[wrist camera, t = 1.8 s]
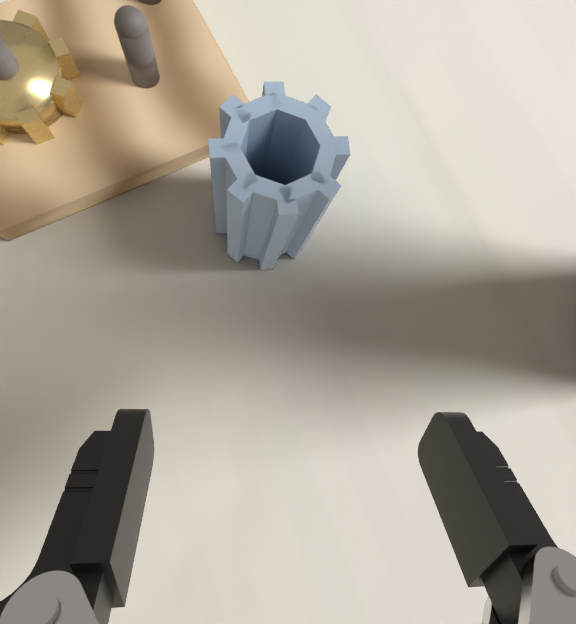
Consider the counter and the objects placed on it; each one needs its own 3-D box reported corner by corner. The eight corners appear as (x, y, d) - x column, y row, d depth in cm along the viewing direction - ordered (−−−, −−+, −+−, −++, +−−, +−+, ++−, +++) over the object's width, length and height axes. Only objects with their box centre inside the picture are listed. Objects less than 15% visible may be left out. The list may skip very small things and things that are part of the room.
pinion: (279, 169, 29) (307, 65, 19) (321, 244, 28) (371, 179, 18) (200, 204, 27) (185, 112, 18) (243, 284, 27) (252, 235, 17)
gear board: (169, -27, 29) (154, -134, 23) (259, 135, 29) (268, 70, 22) (-87, 54, 26) (-187, -47, 20) (8, 241, 25) (-65, 198, 19)
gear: (51, 20, 26) (37, -9, 24) (104, 119, 26) (94, 98, 24) (-70, 58, 25) (-96, 31, 23) (-16, 164, 24) (-38, 146, 22)
